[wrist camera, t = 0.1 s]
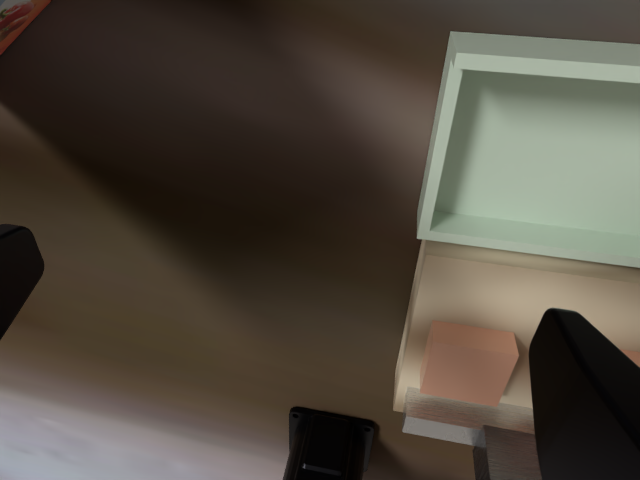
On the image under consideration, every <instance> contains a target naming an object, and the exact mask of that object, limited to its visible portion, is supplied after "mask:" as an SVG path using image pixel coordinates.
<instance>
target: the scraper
mask: <svg viewBox="0 0 640 480" xmlns="http://www.w3.org/2000/svg"><path fill="white" fill-rule="evenodd" d="M402 432H405V433H410V434H416V435H421V436H426V437H431V438H437V439H442V440H447V441H452V442H458V443H463V444H468V445H473V446H475V447H474V449H473V458H474V469H475V479H476V480H542V477H541V472H540V467H539V461H538V455H537V450H536V441H535V432H534V420H533V408H528V407H522V406H516V405H511V404H505V403H498V406H497V407H494V406H489V405H483V404H478V403H472V402H466V401H461V400H455V399H449V398H444V397H438V396H433V395H427V394H421V393H420V388H414V387H409V386H407V389H406V393H405V397H404V402H403V426H402Z"/></svg>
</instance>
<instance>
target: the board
mask: <svg viewBox="0 0 640 480" xmlns="http://www.w3.org/2000/svg"><path fill="white" fill-rule="evenodd" d="M549 308H560V309H567V310H573V311H576V312H578V313H580V314H581V315H582V316H583V317H584V318H585V319H587V320H588V321H589V322H590V323H591V324H592V325H593V326H594V327H595V328H597V329H598V330H599V331H600V332H601V333H602V334H603V335H604V336H605V337H607V338H608V339H609V340H610V341H611V342H612V343H613V344H614V345H615V346H617V347H618V348H619V349H622V350H629V351H635V352H640V268H637V267H630V266H622V265H614V264H607V263H599V262H591V261H584V260H576V259H569V258H561V257H553V256H546V255H538V254H531V253H523V252H515V251H508V250H500V249H493V248H485V247H477V246H470V245H462V244H454V243H447V242H439V241H432V240H424V239H422V241H421V246H420V251H419V256H418V261H417V266H416V271H415V276H414V281H413V286H412V291H411V296H410V301H409V306H408V311H407V316H406V321H405V326H404V331H403V336H402V341H401V346H400V351H399V356H398V361H397V366H396V371H395V387H394V403H393V410H394V411H399V412H403V402H404V397H405V393H406V389H407V386H409V387H414V388H420V368H421V364H422V360H423V356H424V352H425V348H426V344H427V340H428V336H429V332H430V328H431V324H432V320H435V321H442V322H448V323H455V324H461V325H467V326H474V327H480V328H487V329H493V330H500V331H506V332H513V333H514V336H515V340H516V345H517V349H518V353H519V357H518V359H517V362H516V364H515V366H514V369H513V371H512V373H511V376H510V378H509V380H508V383H507V385H506V387H505V390H504V392H503V394H502V396H501V399H500V401H499V403H505V404H511V405H516V406H522V407H528V408H533V407H532V395H531V382H530V370H529V356H528V355H529V347H530V343H531V340H532V338H533V336H534V334H535V332H536V330H537V327H538V325H539V323H540V321H541V319H542V316H543V314H544V313H545V311H546V310H547V309H549Z"/></svg>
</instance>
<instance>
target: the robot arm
mask: <svg viewBox="0 0 640 480" xmlns="http://www.w3.org/2000/svg"><path fill="white" fill-rule="evenodd" d="M43 271H44V261H43V259H42V256H41V253H40V251H39V248H38V246H37V243H36V241H35V238H34V236H33V234H32V232H31V231H30V230H29V229H28V228H26V227H24V226H18V225H11V224H1V225H0V340H1V338H2V337H3V335H4V334H5V332H6V331H7V329H8V328H9V326H10V325H11V323H12V322H13V320H14V318H15V317H16V315H17V314H18V312H19V311H20V309H21V308H22V306H23V304H24V303H25V301H26V300H27V298H28V297H29V295H30V294H31V292H32V290H33V289H34V287H35V286H36V284H37V283H38V281H39V280H40V278H41V276H42V274H43ZM528 356H529V370H530V382H531V395H532V407H533V420H534V432H535V441H536V450H537V455H538V461H539V467H540V472H541V477H542V480H640V367H639V366H638V365H637V364H635V363H634V362H633V361H632V360H631V359H630V358H629V357H628V356H627V355H625V354H624V353H623V352H622V351H621V350H620V349H619V348H618V347H617V346H615V345H614V344H613V343H612V342H611V341H610V340H609V339H608V338H607V337H605V336H604V335H603V334H602V333H601V332H600V331H599V330H598V329H597V328H595V327H594V326H593V325H592V324H591V323H590V322H589V321H588V320H587V319H585V318H584V317H583V316H582V315H581V314H580V313H578V312H576V311H573V310H567V309H560V308H549V309H547V310H546V311H545V313H544V314H543V316H542V319H541V321H540V323H539V325H538V327H537V330H536V332H535V334H534V336H533V338H532V340H531V343H530V347H529V355H528ZM373 434H374V424H373V423H372V422H370V421H366V420H360V419H355V418H350V417H345V416H339V415H334V414H329V413H323V412H318V411H313V410H308V409H302V408H297V407H293V408H291V410H290V413H289V449H290V453H289V457H288V461H287V465H286V469H285V473H284V477H283V480H362V476H363V472H365V471H367V468H368V462H369V456H370V451H371V445H372V440H373Z"/></svg>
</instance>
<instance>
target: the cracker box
mask: <svg viewBox="0 0 640 480" xmlns="http://www.w3.org/2000/svg"><path fill="white" fill-rule="evenodd" d="M51 1H52V0H0V55H1V54H2V53H3V52H4V51H5V50H6V48H7V47H8V46H9V45H10V44H11V43H12V42H13V41H14V40H15V39H16V38H17V37H18V36H19V35H20V34H21V32H22V31H23V30H24V29H25V28H26V27H27V26H28V25H29V24H30V23H31V22H32V21H33V20H34V19H35V18H36V17H37V15H38V14H39V13H40V12H41V11H42V10H43V9H44V8H45V7H46V6H47V5H48V4H49V3H50V2H51Z"/></svg>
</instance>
